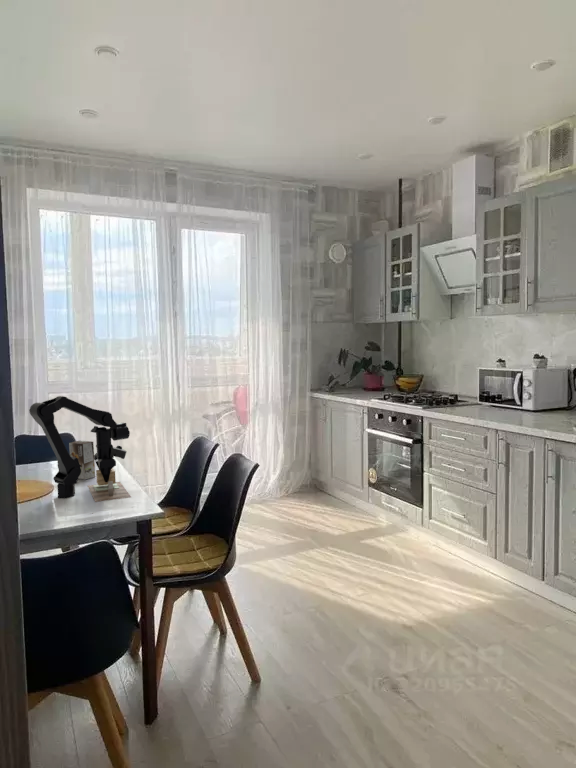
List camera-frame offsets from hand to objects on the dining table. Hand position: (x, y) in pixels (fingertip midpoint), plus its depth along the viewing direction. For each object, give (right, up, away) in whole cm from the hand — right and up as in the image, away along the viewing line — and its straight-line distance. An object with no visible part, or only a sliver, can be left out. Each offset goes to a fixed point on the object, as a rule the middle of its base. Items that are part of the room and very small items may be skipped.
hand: (105, 480), depth 230 cm
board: (+3, -4, -6) cm, 8 cm away
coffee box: (-18, -3, +24) cm, 30 cm away
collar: (0, -1, 0) cm, 1 cm away
